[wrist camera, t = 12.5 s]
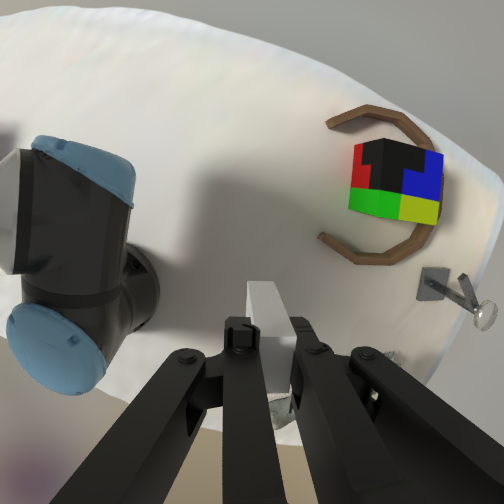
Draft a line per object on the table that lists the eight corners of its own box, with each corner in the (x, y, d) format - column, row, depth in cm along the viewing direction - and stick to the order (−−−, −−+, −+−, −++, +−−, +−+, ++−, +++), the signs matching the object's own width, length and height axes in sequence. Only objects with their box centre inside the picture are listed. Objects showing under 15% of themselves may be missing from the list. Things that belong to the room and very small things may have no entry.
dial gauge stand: (439, 297, 50) (493, 333, 34) (406, 299, 50) (460, 339, 34) (448, 254, 48) (508, 280, 33) (415, 252, 48) (476, 281, 32)
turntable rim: (424, 262, 48) (433, 266, 45) (315, 258, 47) (320, 263, 44) (434, 127, 43) (444, 125, 40) (325, 102, 41) (331, 97, 38)
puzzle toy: (407, 157, 44) (443, 154, 34) (401, 216, 46) (436, 225, 37) (354, 145, 43) (384, 138, 34) (348, 208, 46) (376, 216, 36)
